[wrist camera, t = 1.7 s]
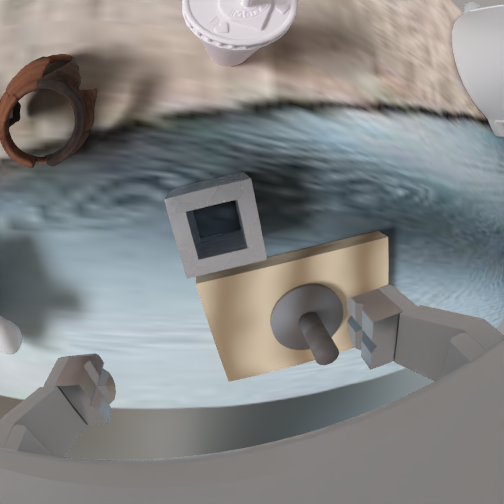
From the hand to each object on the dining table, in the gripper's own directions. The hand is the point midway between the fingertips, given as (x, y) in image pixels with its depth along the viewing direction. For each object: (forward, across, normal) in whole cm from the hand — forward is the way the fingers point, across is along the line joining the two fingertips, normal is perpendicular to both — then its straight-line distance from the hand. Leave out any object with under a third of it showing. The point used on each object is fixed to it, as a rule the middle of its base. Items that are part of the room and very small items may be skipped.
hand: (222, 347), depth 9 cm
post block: (+18, -6, +11) cm, 22 cm away
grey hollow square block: (+18, 0, 0) cm, 18 cm away
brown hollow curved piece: (+18, +12, -13) cm, 26 cm away
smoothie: (+18, -4, -14) cm, 23 cm away
